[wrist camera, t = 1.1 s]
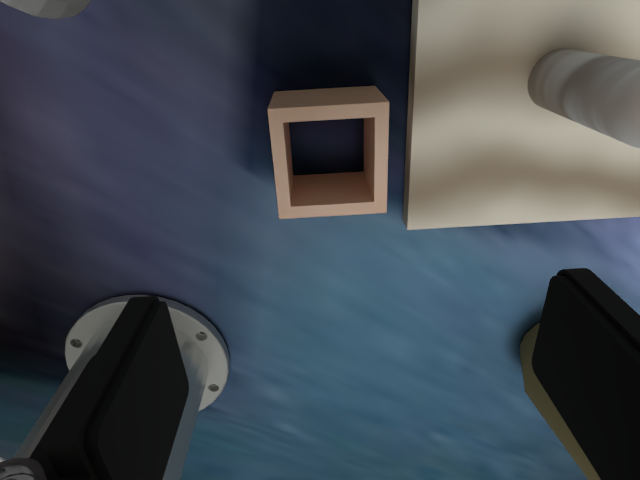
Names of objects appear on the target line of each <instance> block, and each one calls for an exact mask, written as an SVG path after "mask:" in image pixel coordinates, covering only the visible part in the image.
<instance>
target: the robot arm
mask: <svg viewBox="0 0 640 480" xmlns="http://www.w3.org/2000/svg"><path fill="white" fill-rule="evenodd" d="M65 358H66V364H67V366H68V369H69V372H68V374H67V375H66V377H65V379H64V380H63V382H62V383H61V385H60V386H59V388H58V389H57V391H56V392H55V394H54V395H53V397H52V398H51V400H50V402H49V403H48V405H47V406H46V408H45V409H44V411H43V412H42V414H41V415H40V417H39V418H38V420H37V421H36V423H35V424H34V426H33V428H32V429H31V431H30V432H29V434H28V435H27V437H26V438H25V440H24V441H23V443H22V444H21V446H20V447H19V449H18V451H17V452H16V454H15V455H14V457H13V458H12V459H10V460H6V461H3V462H0V480H180V478H181V474H182V471H183V467H184V463H185V460H186V456H187V452H188V448H189V445H190V441H191V437H192V433H193V430H194V426H195V422H196V419H197V415H198V411H200V410H202V409H204V408H206V407H207V406H208V405H210V404H211V403H212V402H214V401H215V400H216V398H217V397H218V396H219V395H220V394H221V392H222V390H223V388H224V386H225V384H226V382H227V377H228V373H229V364H230V358H229V353H228V348H227V346H226V344H225V342H224V340H223V338H222V336H221V335H220V333H219V332H218V331H217V329H216V328H215V327H214V326H213V325H212V324H211V323H210V322H209V321H208V320H207V319H206V318H205V317H203V316H202V315H200V314H199V313H197V312H196V311H194V310H193V309H191V308H189V307H187V306H185V305H182V304H180V303H178V302H176V301H172V300H169V299H165V298H162V297H157V296H149V295H125V296H119V297H114V298H110V299H107V300H105V301H102V302H99V303H97V304H96V305H94V306H92V307H91V308H89V309H88V310H86V311H85V312H84V313H83V314H82V315H81V316H80V318H79V319H78V320H77V321H76V323H75V324H74V326H73V327H72V328H71V330H70V331H69V334H68V336H67V338H66V342H65ZM532 368H533V371H534V373H535V375H536V377H537V379H538V380H539V382H540V383H541V385H542V387H543V388H544V390H545V391H546V393H547V394H548V396H549V398H550V399H551V401H552V402H553V404H554V406H555V407H556V409H557V410H558V412H559V414H560V415H561V417H562V418H563V420H564V422H565V423H566V425H567V426H568V428H569V430H570V431H571V433H572V434H573V436H574V438H575V439H576V441H577V442H578V444H579V446H580V447H581V449H582V450H583V452H584V453H585V455H586V457H587V458H588V460H589V461H590V463H591V465H592V466H593V468H594V469H595V471H596V473H597V474H598V476H599V477H600V479H601V480H640V315H639V314H638V313H636V312H635V311H634V310H633V309H632V308H631V307H630V306H629V305H628V304H627V303H626V302H624V301H623V300H622V299H621V298H620V297H619V296H618V295H617V294H616V293H615V292H614V291H612V290H611V289H610V288H609V287H608V286H607V285H606V284H605V283H604V282H603V281H602V280H601V279H599V278H598V277H597V276H596V275H595V274H594V273H593V272H592V271H591V270H589V269H587V268H578V269H563V270H560V271H559V272H558V273H557V275H556V276H553V277H552V278H551V280H550V282H549V287H548V291H547V295H546V300H545V304H544V308H543V312H542V317H541V321H540V325H539V329H538V334H537V338H536V342H535V346H534V351H533V355H532Z"/></svg>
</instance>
